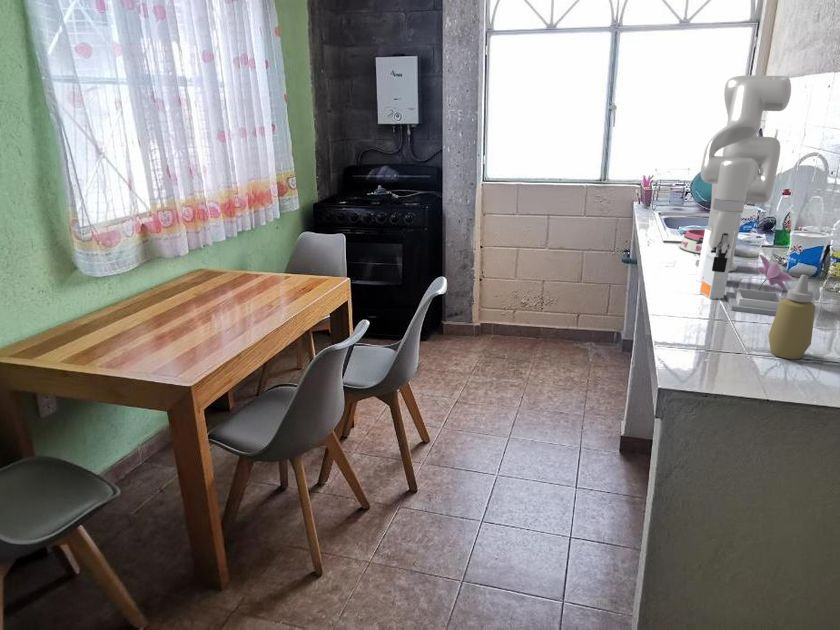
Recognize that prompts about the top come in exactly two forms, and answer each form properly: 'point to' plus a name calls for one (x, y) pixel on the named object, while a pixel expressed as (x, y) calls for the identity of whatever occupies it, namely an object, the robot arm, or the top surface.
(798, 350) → the squeeze bottle
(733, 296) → the grey square frame
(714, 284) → the skincare box
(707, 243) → the cup
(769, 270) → the lily
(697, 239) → the dog bowl
